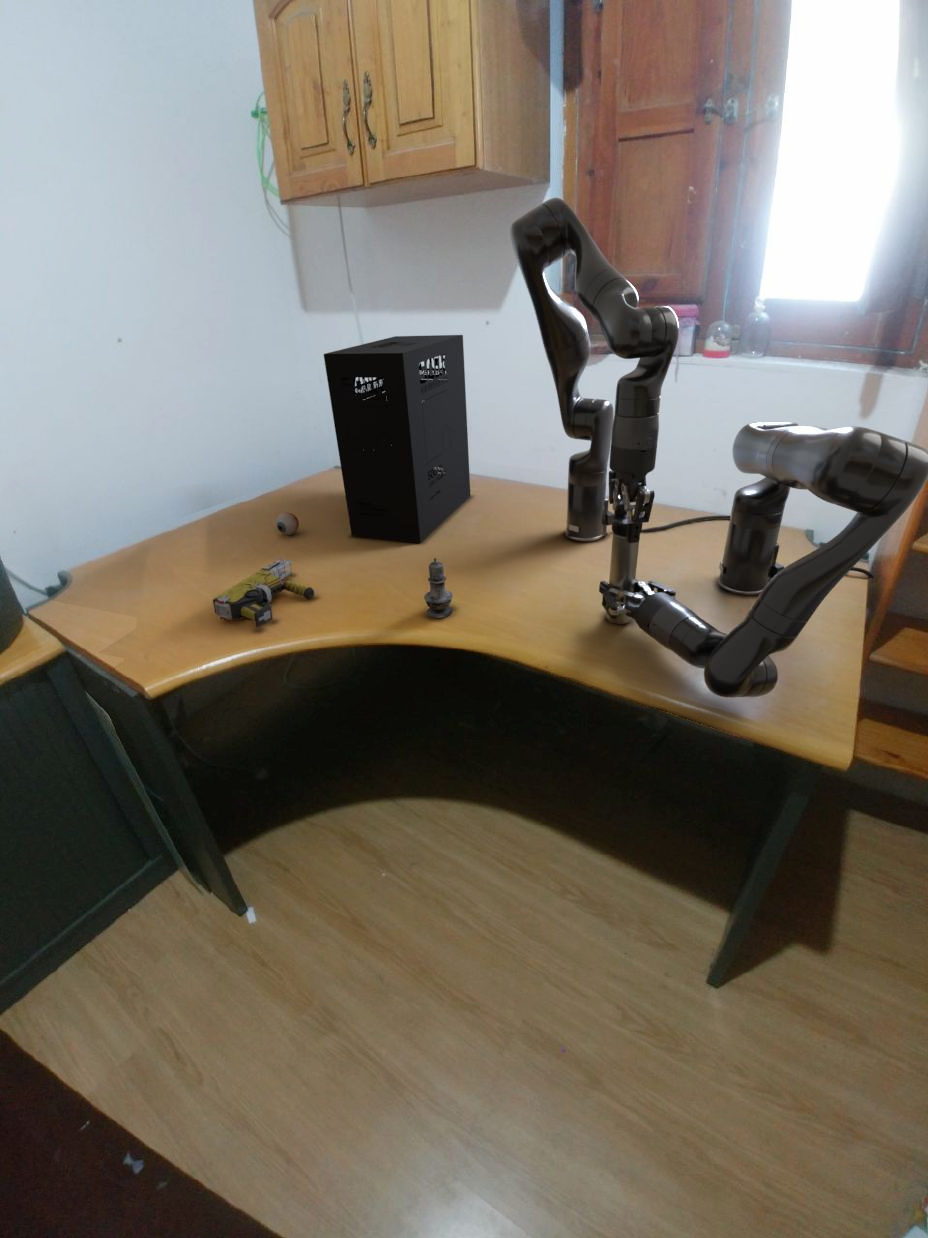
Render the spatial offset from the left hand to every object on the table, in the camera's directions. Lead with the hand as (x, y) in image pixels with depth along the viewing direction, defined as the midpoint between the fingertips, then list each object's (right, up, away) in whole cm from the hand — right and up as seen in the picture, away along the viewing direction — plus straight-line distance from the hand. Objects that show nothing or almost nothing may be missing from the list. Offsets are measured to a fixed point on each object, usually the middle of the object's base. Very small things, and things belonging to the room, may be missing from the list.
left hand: (625, 535), depth 109 cm
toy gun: (-70, -11, +22) cm, 74 cm away
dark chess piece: (-34, -14, +14) cm, 39 cm away
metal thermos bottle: (+1, -15, +9) cm, 17 cm away
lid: (0, +3, -1) cm, 3 cm away
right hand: (0, -8, +8) cm, 11 cm away
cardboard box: (-43, +15, +64) cm, 79 cm away
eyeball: (-77, +8, +56) cm, 96 cm away
